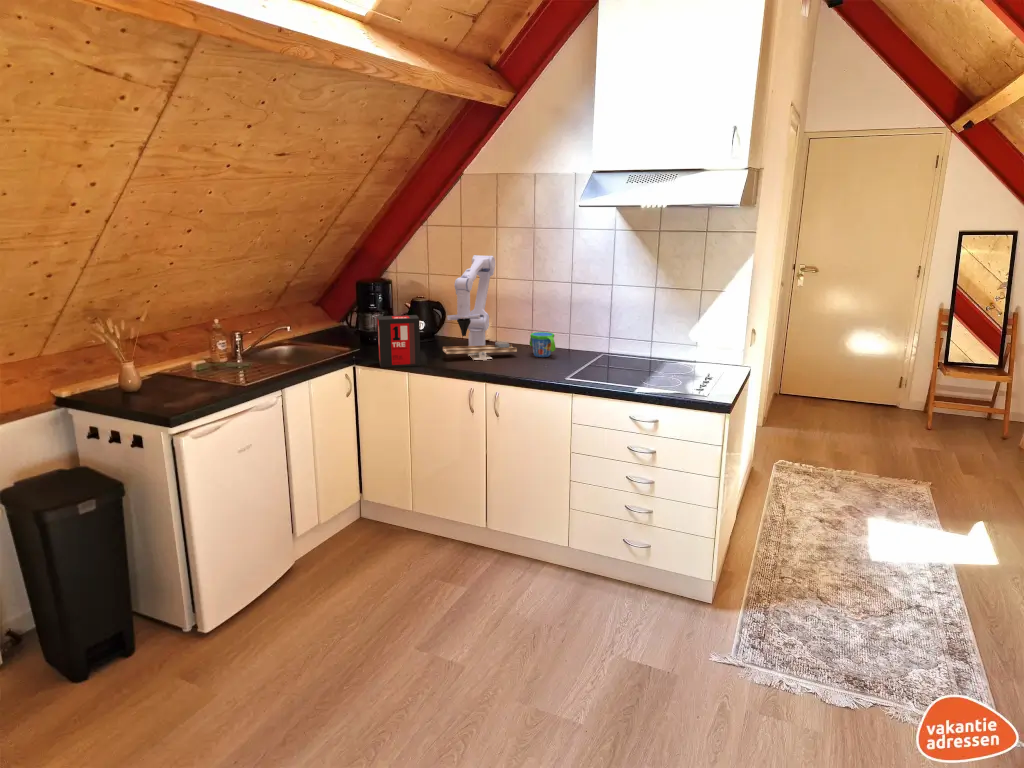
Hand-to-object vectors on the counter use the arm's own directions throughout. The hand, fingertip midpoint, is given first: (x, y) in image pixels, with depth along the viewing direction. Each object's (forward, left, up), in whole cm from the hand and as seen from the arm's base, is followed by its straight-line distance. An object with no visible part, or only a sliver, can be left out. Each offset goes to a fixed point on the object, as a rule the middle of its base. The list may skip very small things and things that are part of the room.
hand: (463, 335), depth 296 cm
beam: (+5, +6, -6) cm, 10 cm away
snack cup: (+9, +34, -10) cm, 36 cm away
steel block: (+5, +16, -6) cm, 18 cm away
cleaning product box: (+7, -30, -10) cm, 32 cm away
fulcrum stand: (+5, +6, -9) cm, 12 cm away
